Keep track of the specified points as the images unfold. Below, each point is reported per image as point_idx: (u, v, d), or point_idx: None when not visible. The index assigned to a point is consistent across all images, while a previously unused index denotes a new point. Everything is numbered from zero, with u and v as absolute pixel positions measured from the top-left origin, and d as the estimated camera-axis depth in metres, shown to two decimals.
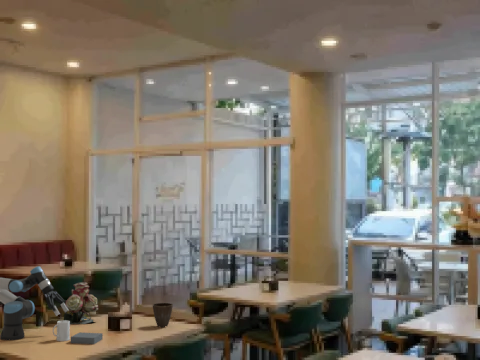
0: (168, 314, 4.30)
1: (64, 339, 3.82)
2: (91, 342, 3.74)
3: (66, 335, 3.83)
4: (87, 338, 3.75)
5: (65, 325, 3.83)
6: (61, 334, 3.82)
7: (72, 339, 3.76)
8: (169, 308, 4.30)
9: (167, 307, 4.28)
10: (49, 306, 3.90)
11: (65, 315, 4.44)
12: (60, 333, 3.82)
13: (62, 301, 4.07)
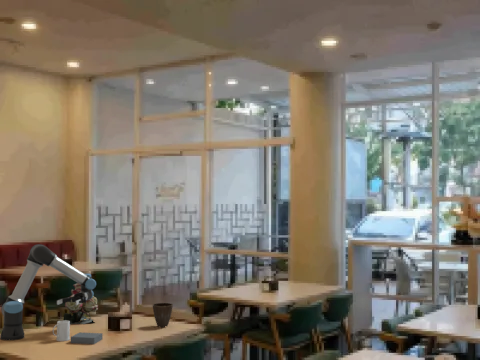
0: (168, 314, 4.30)
1: (64, 339, 3.82)
2: (91, 342, 3.74)
3: (66, 335, 3.83)
4: (87, 338, 3.75)
5: (65, 325, 3.83)
6: (61, 334, 3.82)
7: (72, 339, 3.76)
8: (169, 308, 4.30)
9: (167, 307, 4.28)
10: (85, 300, 4.00)
11: (65, 315, 4.44)
12: (60, 333, 3.82)
13: (62, 302, 4.03)
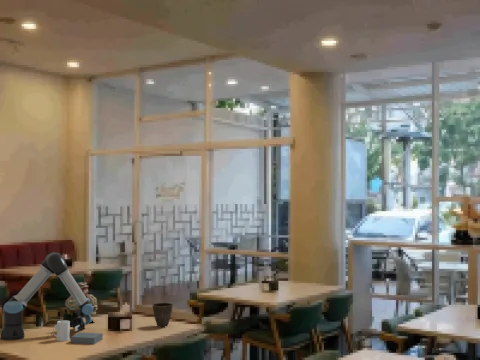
0: (168, 314, 4.30)
1: (64, 339, 3.82)
2: (91, 342, 3.74)
3: (66, 335, 3.83)
4: (87, 338, 3.75)
5: (65, 325, 3.83)
6: (61, 334, 3.82)
7: (72, 339, 3.76)
8: (169, 308, 4.30)
9: (167, 307, 4.28)
10: (84, 326, 3.96)
11: (64, 315, 4.44)
12: (60, 333, 3.82)
13: None
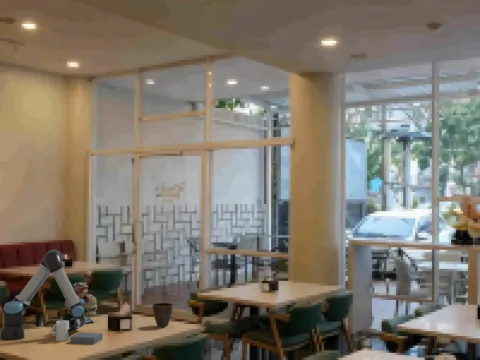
0: (168, 314, 4.30)
1: (63, 339, 3.82)
2: (91, 342, 3.74)
3: (65, 335, 3.83)
4: (87, 338, 3.75)
5: (64, 325, 3.83)
6: (60, 334, 3.82)
7: (72, 339, 3.76)
8: (169, 308, 4.30)
9: (167, 307, 4.28)
10: (74, 328, 3.87)
11: (64, 315, 4.44)
12: (59, 333, 3.82)
13: None
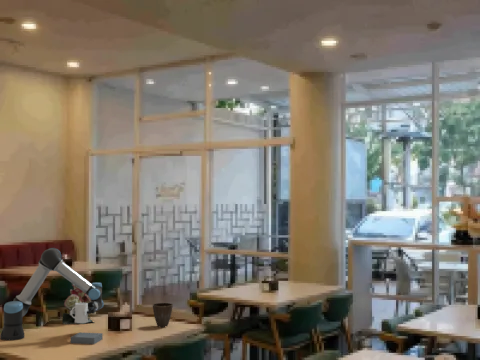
0: (168, 314, 4.30)
1: (82, 321, 3.81)
2: (91, 342, 3.74)
3: (84, 317, 3.82)
4: (87, 338, 3.75)
5: (84, 307, 3.82)
6: (79, 316, 3.81)
7: (72, 339, 3.76)
8: (169, 308, 4.30)
9: (167, 307, 4.28)
10: (93, 310, 3.86)
11: (64, 315, 4.44)
12: (78, 315, 3.81)
13: None
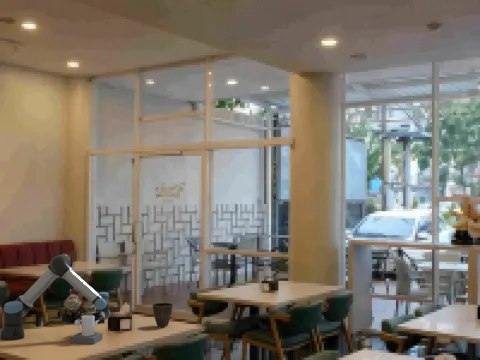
0: (168, 314, 4.30)
1: (89, 334, 3.79)
2: (91, 342, 3.74)
3: (91, 330, 3.80)
4: (87, 338, 3.75)
5: (90, 320, 3.80)
6: (86, 329, 3.79)
7: (72, 339, 3.76)
8: (169, 308, 4.30)
9: (167, 307, 4.28)
10: (104, 321, 3.85)
11: (63, 315, 4.44)
12: (85, 328, 3.79)
13: (80, 322, 3.88)
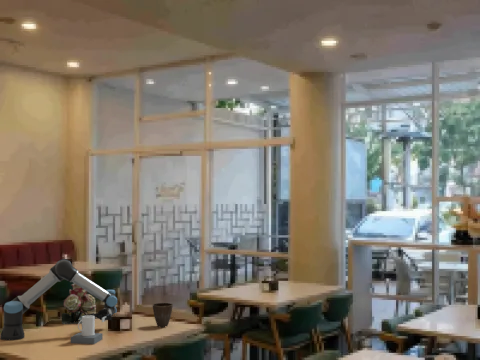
0: (168, 314, 4.30)
1: (89, 334, 3.79)
2: (91, 342, 3.74)
3: (91, 330, 3.80)
4: (87, 338, 3.75)
5: (91, 320, 3.80)
6: (86, 329, 3.79)
7: (72, 339, 3.76)
8: (169, 308, 4.30)
9: (167, 307, 4.28)
10: None
11: (63, 315, 4.44)
12: (85, 328, 3.79)
13: None
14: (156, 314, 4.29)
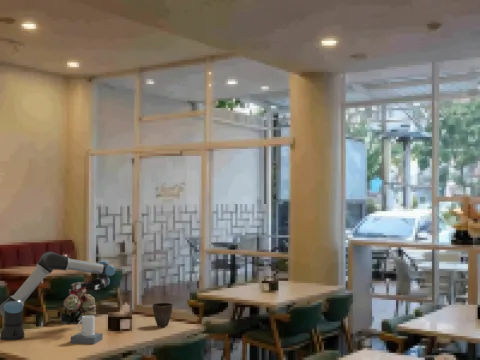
0: (168, 314, 4.30)
1: (89, 334, 3.79)
2: (91, 342, 3.74)
3: (91, 330, 3.80)
4: (87, 338, 3.75)
5: (91, 320, 3.80)
6: (86, 329, 3.79)
7: (72, 339, 3.76)
8: (169, 308, 4.30)
9: (167, 307, 4.28)
10: (103, 285, 4.12)
11: (63, 315, 4.45)
12: (85, 328, 3.79)
13: (81, 287, 4.14)
14: (156, 314, 4.29)
